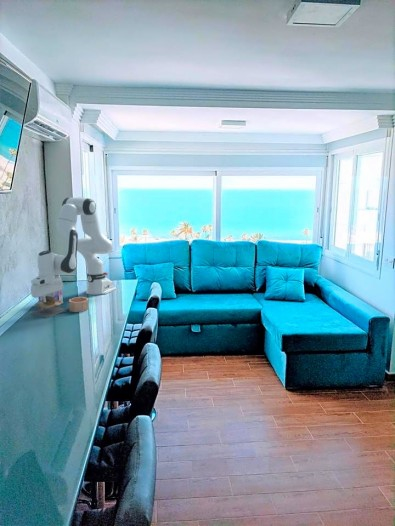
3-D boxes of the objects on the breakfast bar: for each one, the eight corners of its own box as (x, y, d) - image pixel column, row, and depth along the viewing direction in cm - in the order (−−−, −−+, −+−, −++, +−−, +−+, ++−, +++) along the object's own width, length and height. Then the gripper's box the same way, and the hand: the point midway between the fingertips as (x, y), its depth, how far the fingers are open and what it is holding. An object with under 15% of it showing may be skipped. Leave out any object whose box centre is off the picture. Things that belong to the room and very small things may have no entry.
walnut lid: (50, 300, 229) (50, 293, 228) (66, 303, 222) (66, 296, 221) (31, 306, 217) (30, 298, 216) (47, 309, 210) (46, 302, 209)
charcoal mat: (51, 306, 231) (51, 305, 230) (68, 310, 223) (68, 309, 223) (30, 313, 218) (30, 312, 218) (47, 317, 211) (47, 316, 210)
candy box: (63, 303, 238) (61, 278, 235) (59, 305, 232) (57, 280, 229) (43, 302, 239) (41, 277, 236) (38, 305, 234) (36, 280, 230)
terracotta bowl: (79, 305, 234) (79, 296, 233) (92, 308, 228) (91, 298, 227) (65, 310, 224) (65, 300, 223) (78, 313, 219) (78, 303, 218)
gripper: (57, 274, 227) (59, 296, 229) (28, 281, 209) (30, 304, 212) (64, 275, 224) (66, 297, 226) (35, 282, 206) (37, 306, 209)
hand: (48, 301), depth 219 cm, fingers closed on walnut lid, 3 cm apart
